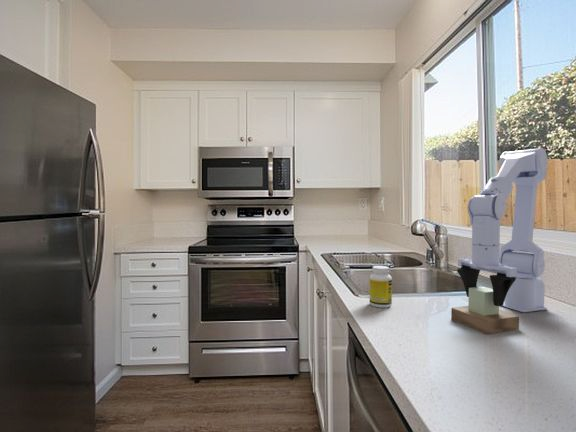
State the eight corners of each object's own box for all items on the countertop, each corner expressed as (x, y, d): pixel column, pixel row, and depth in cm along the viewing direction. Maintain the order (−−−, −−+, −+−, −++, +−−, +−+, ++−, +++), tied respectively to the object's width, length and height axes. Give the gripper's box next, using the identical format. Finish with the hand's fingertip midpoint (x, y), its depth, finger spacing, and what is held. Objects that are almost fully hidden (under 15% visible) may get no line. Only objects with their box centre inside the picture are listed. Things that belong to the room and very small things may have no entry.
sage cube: (482, 308, 83) (482, 286, 83) (498, 313, 79) (499, 290, 79) (468, 309, 82) (468, 287, 82) (484, 315, 78) (484, 292, 78)
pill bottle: (392, 309, 92) (393, 269, 92) (369, 307, 94) (370, 268, 93) (390, 302, 98) (391, 265, 98) (369, 301, 100) (369, 264, 99)
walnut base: (481, 315, 87) (482, 304, 87) (518, 329, 78) (519, 316, 77) (451, 319, 84) (451, 307, 84) (486, 334, 74) (486, 320, 74)
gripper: (448, 242, 86) (447, 294, 86) (500, 249, 72) (499, 311, 72) (470, 241, 88) (469, 292, 88) (524, 247, 74) (522, 308, 75)
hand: (484, 300), depth 81 cm, fingers open, 7 cm apart
